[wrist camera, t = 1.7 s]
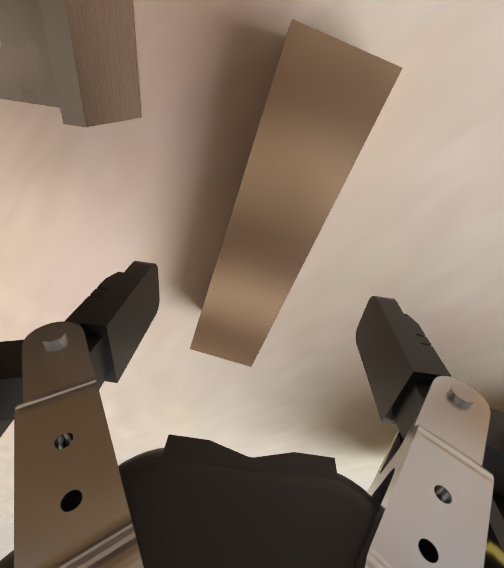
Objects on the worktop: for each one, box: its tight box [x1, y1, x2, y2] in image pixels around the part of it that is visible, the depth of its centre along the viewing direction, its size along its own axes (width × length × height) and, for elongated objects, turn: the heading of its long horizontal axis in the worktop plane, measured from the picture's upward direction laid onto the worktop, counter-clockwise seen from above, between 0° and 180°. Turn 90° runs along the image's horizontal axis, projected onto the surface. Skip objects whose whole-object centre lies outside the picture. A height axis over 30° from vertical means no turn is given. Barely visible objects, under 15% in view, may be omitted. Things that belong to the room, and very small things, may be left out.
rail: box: [190, 19, 402, 367], centre depth 16 cm, size 16×4×4 cm, turn 161°
